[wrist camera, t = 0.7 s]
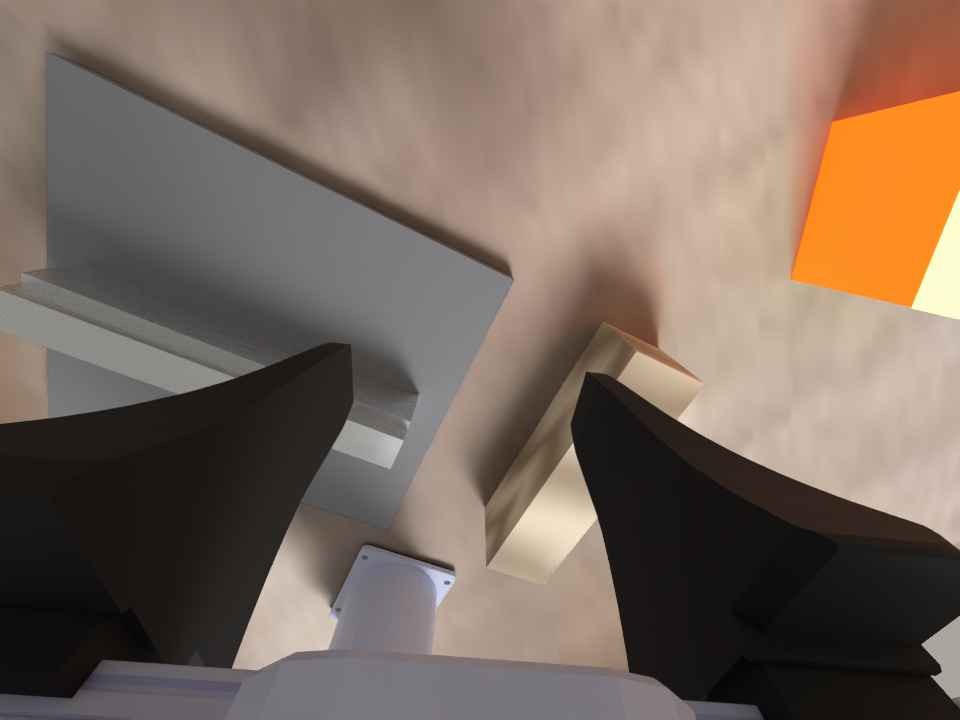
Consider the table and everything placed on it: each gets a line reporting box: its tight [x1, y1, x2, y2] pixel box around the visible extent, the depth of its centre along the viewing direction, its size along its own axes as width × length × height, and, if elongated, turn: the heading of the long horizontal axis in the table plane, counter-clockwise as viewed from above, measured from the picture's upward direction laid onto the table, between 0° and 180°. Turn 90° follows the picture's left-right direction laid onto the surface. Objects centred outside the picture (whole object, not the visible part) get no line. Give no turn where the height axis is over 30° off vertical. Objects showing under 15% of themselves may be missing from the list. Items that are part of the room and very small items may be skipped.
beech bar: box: [485, 321, 705, 585], centre depth 22 cm, size 16×4×5 cm, turn 155°
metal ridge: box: [0, 262, 419, 469], centre depth 18 cm, size 3×18×4 cm, turn 64°
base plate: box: [46, 51, 514, 530], centre depth 21 cm, size 20×22×1 cm
